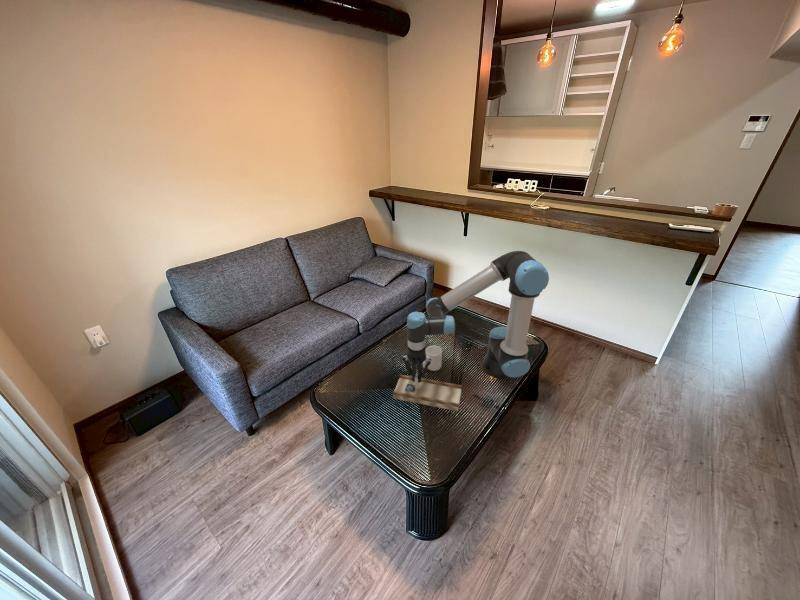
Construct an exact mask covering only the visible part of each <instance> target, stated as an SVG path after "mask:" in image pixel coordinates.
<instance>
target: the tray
mask: <svg viewBox="0 0 800 600" xmlns="http://www.w3.org/2000/svg"><path fill="white" fill-rule="evenodd" d="M407 386H412V387H413V390H414V391H413V392H409V391H406V388H407ZM462 387H463V385H462V384H457V383H450V382H446V381H445V382H444V381H440V380H434V379H427V378H422V377H421V382H420V383H419V387H418V389H416V388H415V382H413V377H412V375H406V374H404V375H403V374H399V379H398V380H397V383H396V386H395V389H394V390H392V399H395V400H398V401H399V400H400V401H403V402H409V403H415V404H419V405H425V406H429V407H434V408H440V409H445V410H449V411H454V412H459V407H460V402H461V397H462V396H461V395H462V389H463V388H462Z"/></svg>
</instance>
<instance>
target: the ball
mask: <svg viewBox="0 0 800 600" xmlns="http://www.w3.org/2000/svg"><path fill="white" fill-rule="evenodd" d="M406 391H409V392H414V389H413V387H412V386H407V388H406Z"/></svg>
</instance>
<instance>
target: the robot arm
mask: <svg viewBox="0 0 800 600" xmlns="http://www.w3.org/2000/svg"><path fill="white" fill-rule="evenodd" d="M508 279H509V283H508V292H509V294H510V295H511V298H510V304H509V310H508V317H507V324H506V326H497V327H493V328H491V330H490V332H489V335H488V342H487V343H488V344H487V352H486V355H484V358H483V359H482V363H481V368H482V370H483V371H484V373H486V374H487V375H489V376H490V377H493V378H498V379H502V378H503V379H505V378H519V377H522V376H523V375H526V374H527V373H528V372H529V370H530V369H531V364H530V361H529V360H528V354H529V347H528V345H527V344H526V343H527V339H528V334H529V328H530V324H531V318H532V313H533V309H534V303H535V299H536V298H539V297H540V294H541V293H543V290H545V289H546V288H547V286H548V284H549V282H550V281H549V280H550V275H549V272H548V270H547V269H546V266H544V265H543V263H541V262H540V261H538V260H536V259H535V258H534V257H533V256H532V255H531V254H530V253H528V252H525V250H524V251H523V250H513V251H509V252H507V253H505V254H503V255H500V256H499V257H497V258H495V259H494V260H492V261H491V262H490V264H489V265H488V266H487V267H485V268H484V269H483V270H481V271H479V272H477V273H476V274H474V275H473V276H471V277H470V278H468V279H467V280H465V281H463V282H462V283H460V284H458V285H457V286H455V287H454V288H452V289H451V290H449V291H448V292H446V293H445V294H443V295H441V296H440V297H431V298H429V299H428V300H427V301H426V303H425V306H426V310H425V311H426V312H427V316H426V314H425V313H424V312H422V311H421V312H419V311H412V312H410V313H409V314H408V315H407V318H406V319H407V320H406V329H407V333H406V334H407V354H403V357H402V359H401V360H402V362H404V365H405V368H406V371H407V376H412V377H413V382H415V388H416V389H418V387H419V383H420V382H421V378H423V379H425V376H426V373H427V370H428V366H429V365H430V363H431V359H428V358H426V336H434V335H436V336H437V335H439V336H440V335H445V336H446V335H449V334H450V335H451V334H454V332H455V331H456V322H455V321H456V320H455V318H454V316H452V315H447V313H449V312H450V311H452V310H453V309H455V308H457V307H458V306H461V304H463V303H465V302H466V301H469V300H470V299H472V298H473V297H475V296H476V295H478V294H480V293H482V292H483V291H485V290H486V289H488V288H489V287H491V286H493V285H494V284H497V283H498V282H499V281H502V282H503V281H504V282H505V281H506V280H508ZM424 361H425V363H426V364H425V368H423V371H422V367H423V362H424Z"/></svg>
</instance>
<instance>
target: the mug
mask: <svg viewBox="0 0 800 600" xmlns="http://www.w3.org/2000/svg"><path fill="white" fill-rule="evenodd" d="M425 355H426V358H428V359H431V363H430V365H429V366H428V368H427V370H429V371H431V372H437V371H439V370H440V369H441V368H442V365H443V364H442V363H443V361H442V360H443V358H442V357H443V349H442V348H441V347H440V346H438V345H429V346H427V347H425ZM425 365H426V363H425V361H424V362H423V363H422V367H423V369H424V368H425Z"/></svg>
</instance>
